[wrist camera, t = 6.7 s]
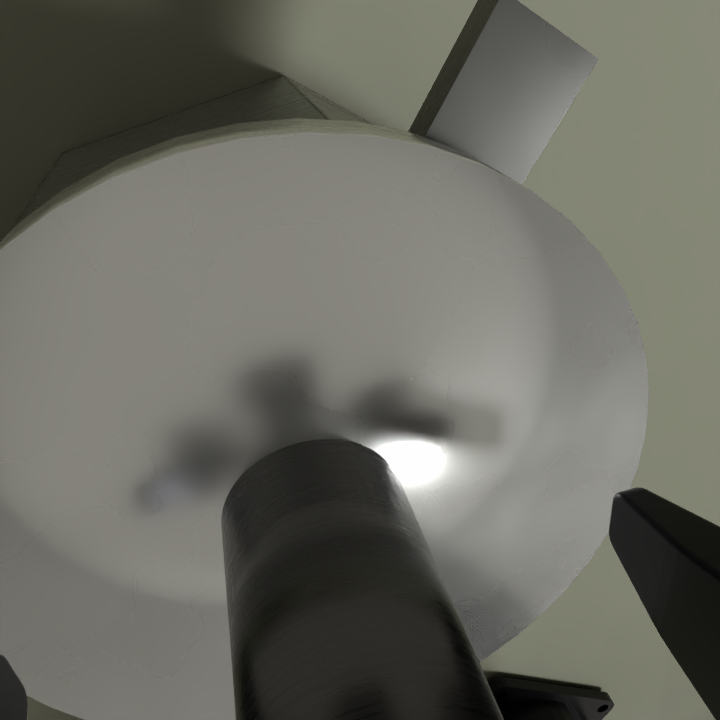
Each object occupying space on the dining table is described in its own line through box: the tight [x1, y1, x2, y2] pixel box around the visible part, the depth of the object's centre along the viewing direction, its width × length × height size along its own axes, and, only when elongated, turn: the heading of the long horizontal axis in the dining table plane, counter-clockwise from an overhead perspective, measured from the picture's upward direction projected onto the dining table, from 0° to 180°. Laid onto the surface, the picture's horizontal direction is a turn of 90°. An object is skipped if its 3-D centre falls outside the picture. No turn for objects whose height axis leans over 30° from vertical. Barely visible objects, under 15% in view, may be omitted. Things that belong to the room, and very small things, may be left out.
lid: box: [0, 118, 649, 720], centre depth 10 cm, size 12×12×6 cm
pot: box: [10, 0, 598, 231], centre depth 14 cm, size 11×16×5 cm
